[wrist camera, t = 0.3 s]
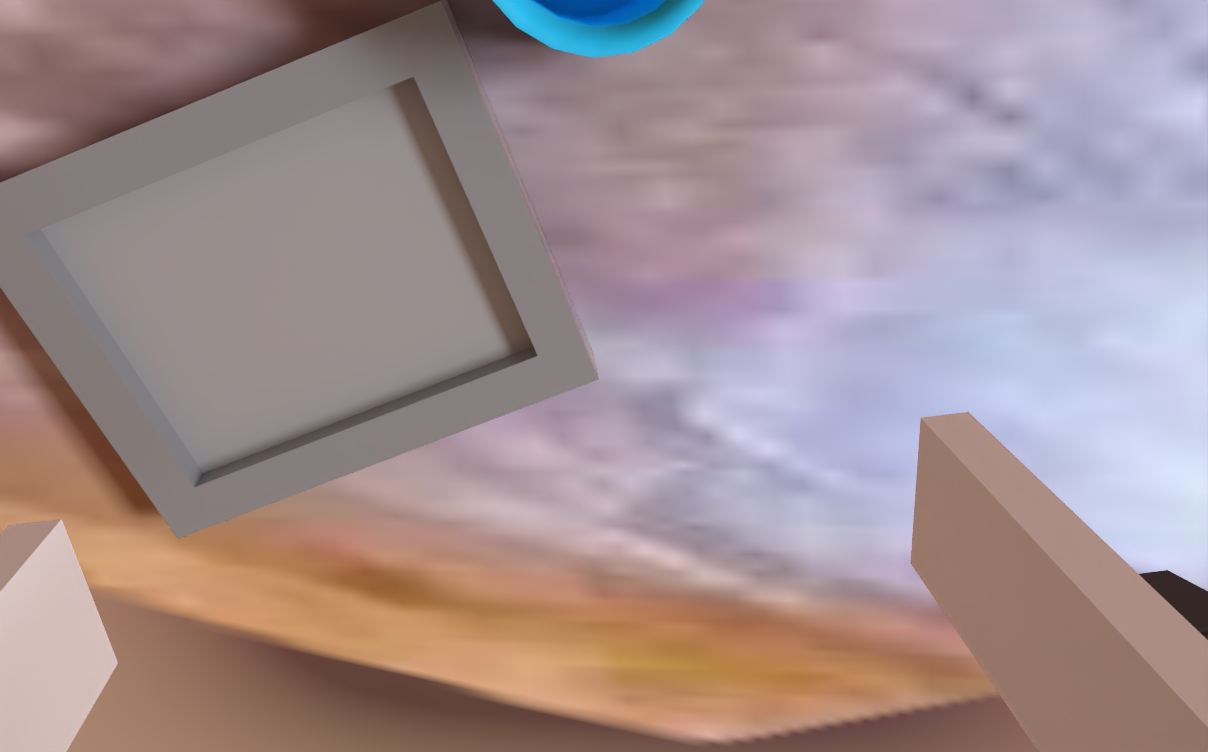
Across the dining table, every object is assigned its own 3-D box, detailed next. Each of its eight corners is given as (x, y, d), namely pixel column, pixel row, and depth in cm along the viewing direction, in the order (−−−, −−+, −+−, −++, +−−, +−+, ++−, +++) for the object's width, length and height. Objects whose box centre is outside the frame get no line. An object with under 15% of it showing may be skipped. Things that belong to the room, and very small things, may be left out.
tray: (-18, 190, 36) (-57, 206, 33) (446, -2, 34) (440, 0, 32) (197, 506, 42) (177, 538, 40) (593, 354, 41) (598, 379, 38)
